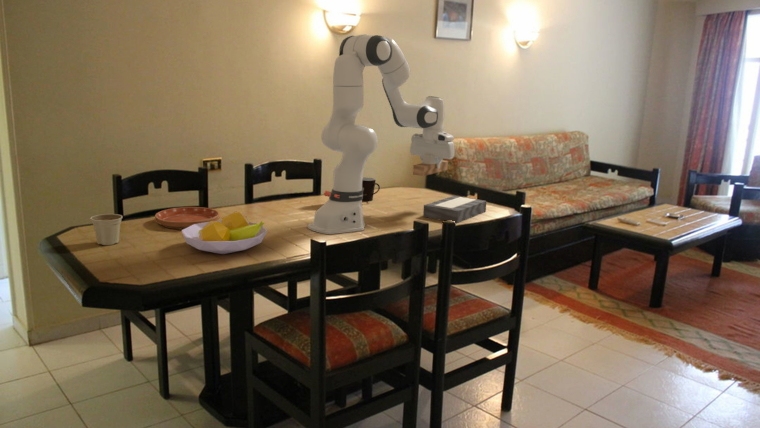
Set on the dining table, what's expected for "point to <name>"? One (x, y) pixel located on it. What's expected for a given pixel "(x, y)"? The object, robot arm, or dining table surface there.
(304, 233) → the dining table surface
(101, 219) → the flower pot
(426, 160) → the block
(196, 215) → the saucer
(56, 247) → the dining table surface
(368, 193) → the coffee mug
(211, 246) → the fruit bowl
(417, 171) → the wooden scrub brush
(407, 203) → the dining table surface
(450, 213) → the block
